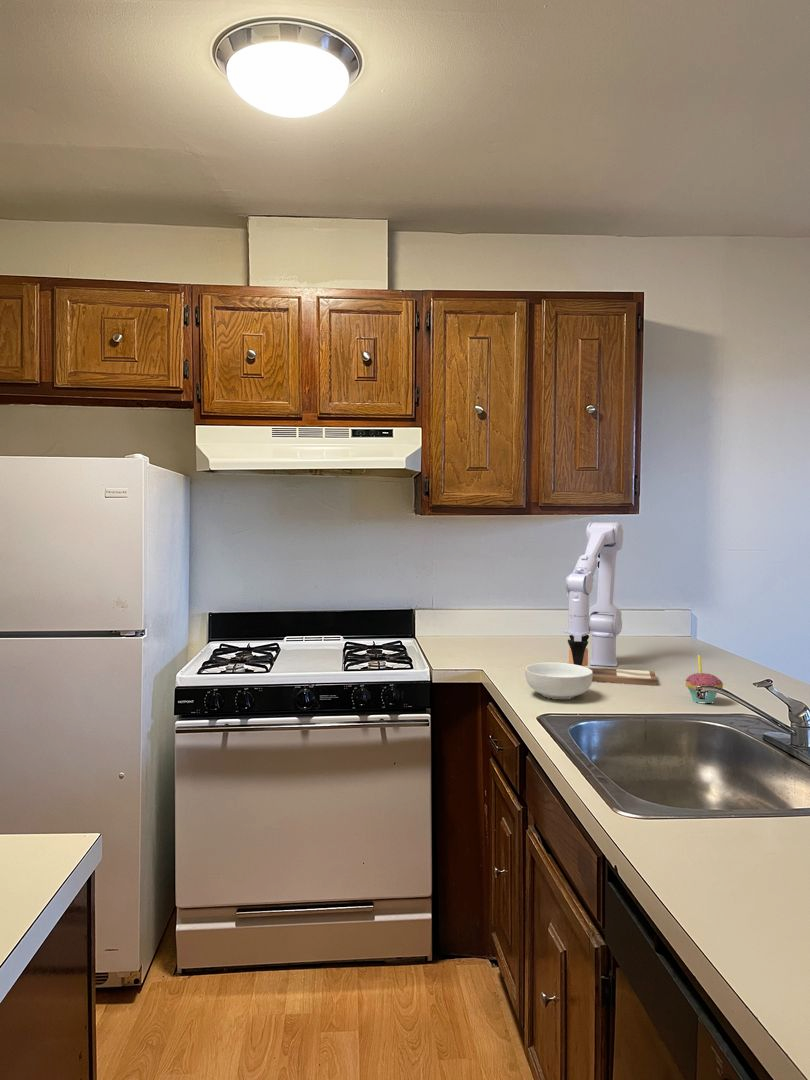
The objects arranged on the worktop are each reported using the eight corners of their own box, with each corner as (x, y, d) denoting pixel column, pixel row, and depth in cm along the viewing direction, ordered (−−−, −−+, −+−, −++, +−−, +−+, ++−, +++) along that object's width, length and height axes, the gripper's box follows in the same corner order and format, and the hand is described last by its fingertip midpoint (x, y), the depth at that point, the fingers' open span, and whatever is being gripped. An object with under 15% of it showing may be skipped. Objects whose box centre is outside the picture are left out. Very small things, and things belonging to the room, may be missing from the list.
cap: (569, 662, 208) (569, 646, 208) (587, 663, 207) (588, 647, 207) (568, 665, 203) (568, 649, 203) (587, 666, 202) (587, 650, 202)
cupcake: (677, 699, 180) (678, 651, 180) (704, 696, 183) (704, 649, 183) (703, 707, 172) (703, 658, 172) (730, 704, 175) (731, 655, 175)
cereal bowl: (543, 707, 173) (543, 678, 173) (514, 690, 189) (514, 664, 189) (605, 701, 178) (605, 673, 178) (571, 686, 194) (572, 660, 194)
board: (554, 671, 212) (554, 645, 212) (654, 676, 205) (654, 650, 205) (552, 679, 202) (552, 652, 202) (657, 685, 194) (657, 658, 194)
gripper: (565, 611, 213) (565, 656, 213) (563, 618, 199) (562, 666, 199) (590, 612, 211) (589, 658, 211) (589, 619, 197) (588, 668, 197)
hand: (578, 662), depth 205 cm, fingers open, 7 cm apart
